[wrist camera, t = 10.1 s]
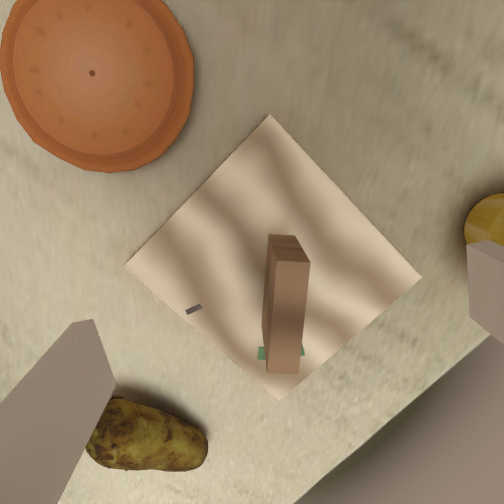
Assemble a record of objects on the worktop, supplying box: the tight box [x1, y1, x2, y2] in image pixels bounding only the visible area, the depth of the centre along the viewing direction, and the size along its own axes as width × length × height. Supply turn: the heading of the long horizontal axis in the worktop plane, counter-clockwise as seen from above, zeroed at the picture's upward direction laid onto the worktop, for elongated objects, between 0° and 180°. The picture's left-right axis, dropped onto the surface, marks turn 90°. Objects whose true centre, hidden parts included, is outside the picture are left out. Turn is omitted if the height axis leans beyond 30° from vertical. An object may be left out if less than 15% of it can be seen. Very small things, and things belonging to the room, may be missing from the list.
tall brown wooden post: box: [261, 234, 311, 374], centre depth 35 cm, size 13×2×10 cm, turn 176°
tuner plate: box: [123, 114, 422, 401], centre depth 40 cm, size 20×22×2 cm
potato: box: [85, 395, 208, 472], centre depth 42 cm, size 8×13×8 cm, turn 36°
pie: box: [0, 0, 194, 173], centre depth 33 cm, size 16×16×5 cm
